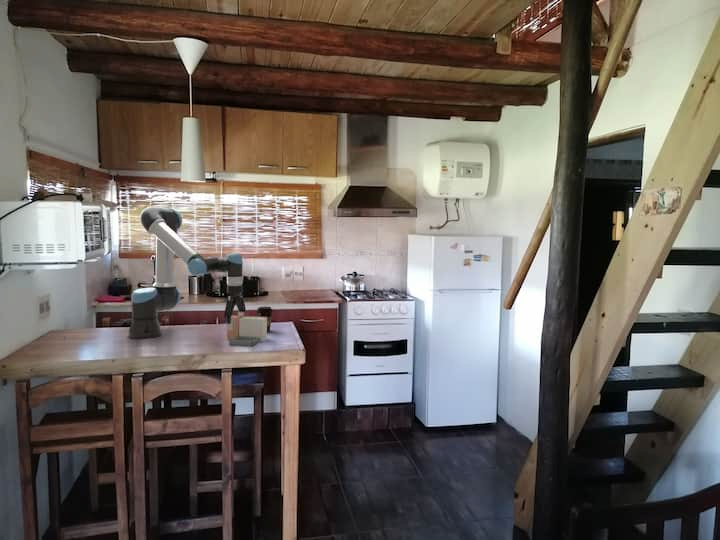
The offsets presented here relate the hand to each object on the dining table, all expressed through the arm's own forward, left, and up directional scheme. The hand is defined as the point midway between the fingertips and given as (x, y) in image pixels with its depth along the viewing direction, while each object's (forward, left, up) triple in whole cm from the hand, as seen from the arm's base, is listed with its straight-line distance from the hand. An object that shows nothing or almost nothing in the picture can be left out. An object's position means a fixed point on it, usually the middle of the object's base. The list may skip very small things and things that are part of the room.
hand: (235, 327), depth 239 cm
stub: (0, 0, -6) cm, 6 cm away
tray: (+8, -8, -6) cm, 13 cm away
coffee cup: (+8, +19, -6) cm, 21 cm away
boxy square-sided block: (+9, 0, -6) cm, 11 cm away
